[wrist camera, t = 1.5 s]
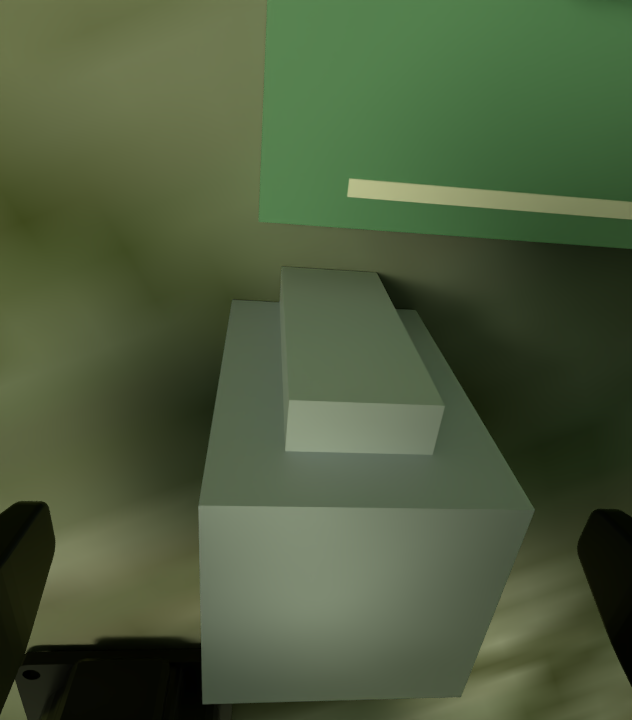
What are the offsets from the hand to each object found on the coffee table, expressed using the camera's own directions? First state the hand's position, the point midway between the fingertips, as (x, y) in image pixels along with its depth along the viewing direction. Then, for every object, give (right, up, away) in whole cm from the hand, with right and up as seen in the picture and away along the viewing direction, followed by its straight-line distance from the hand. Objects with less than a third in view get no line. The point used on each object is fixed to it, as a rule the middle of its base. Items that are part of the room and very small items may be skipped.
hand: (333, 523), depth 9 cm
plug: (0, +2, +4) cm, 4 cm away
